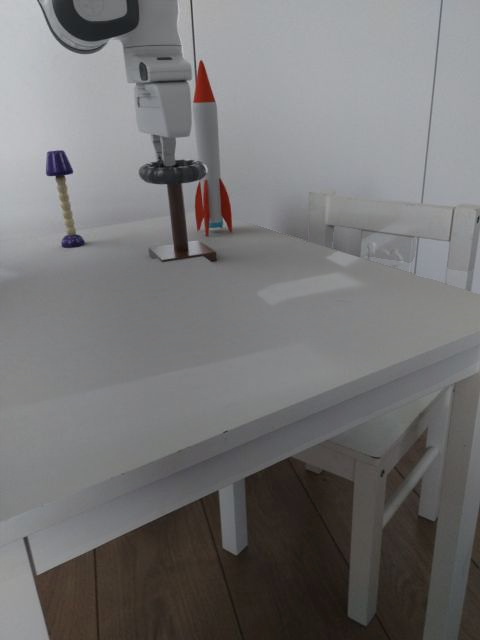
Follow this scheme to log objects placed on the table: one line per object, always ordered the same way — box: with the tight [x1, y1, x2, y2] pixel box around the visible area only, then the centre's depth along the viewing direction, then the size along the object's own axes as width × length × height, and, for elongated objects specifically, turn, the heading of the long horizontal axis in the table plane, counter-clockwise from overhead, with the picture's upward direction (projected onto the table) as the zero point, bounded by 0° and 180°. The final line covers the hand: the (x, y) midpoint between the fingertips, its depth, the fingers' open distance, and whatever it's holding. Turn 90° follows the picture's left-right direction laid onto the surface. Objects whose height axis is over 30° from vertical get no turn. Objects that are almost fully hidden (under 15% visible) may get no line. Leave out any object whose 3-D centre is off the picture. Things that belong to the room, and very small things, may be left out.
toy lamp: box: [45, 149, 86, 248], centre depth 104 cm, size 5×5×17 cm
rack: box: [148, 183, 218, 263], centre depth 92 cm, size 9×9×14 cm
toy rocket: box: [192, 59, 233, 237], centre depth 105 cm, size 6×6×30 cm
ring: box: [138, 158, 208, 185], centre depth 89 cm, size 10×10×2 cm
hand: (166, 164), depth 92 cm, fingers closed on ring, 2 cm apart
